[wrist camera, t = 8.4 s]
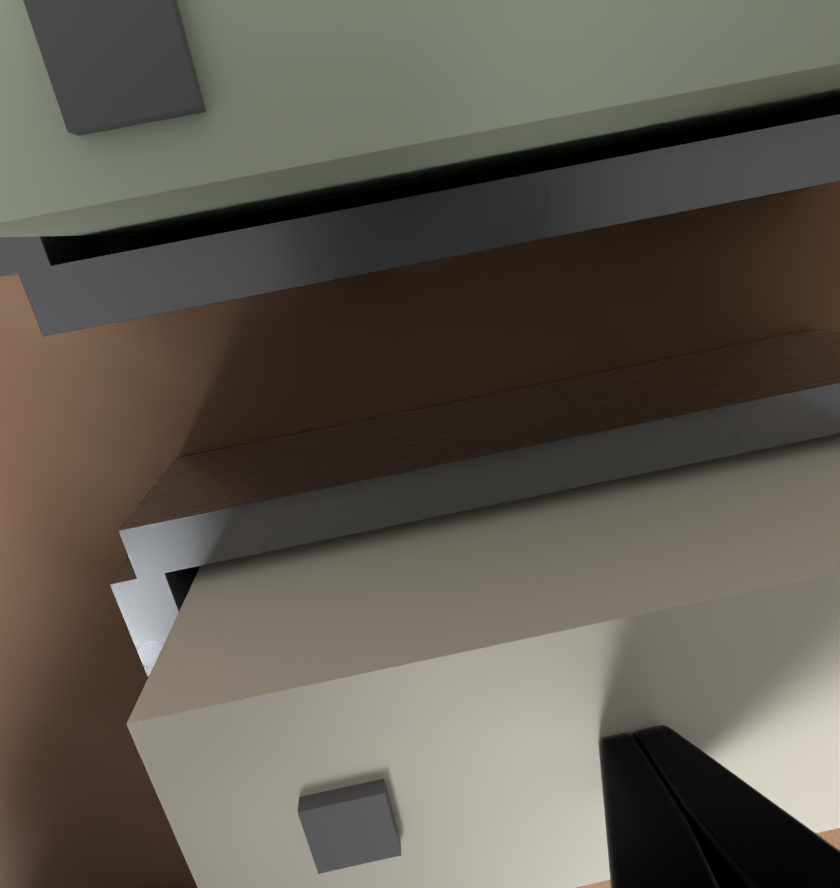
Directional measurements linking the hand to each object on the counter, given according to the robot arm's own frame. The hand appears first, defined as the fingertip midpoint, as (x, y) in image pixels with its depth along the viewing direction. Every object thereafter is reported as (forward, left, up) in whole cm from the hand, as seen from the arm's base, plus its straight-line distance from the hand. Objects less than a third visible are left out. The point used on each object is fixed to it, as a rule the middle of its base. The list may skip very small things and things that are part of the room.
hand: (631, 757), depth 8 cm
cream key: (0, 0, -6) cm, 6 cm away
